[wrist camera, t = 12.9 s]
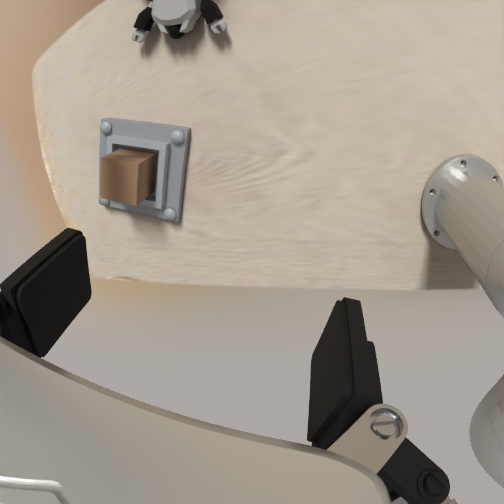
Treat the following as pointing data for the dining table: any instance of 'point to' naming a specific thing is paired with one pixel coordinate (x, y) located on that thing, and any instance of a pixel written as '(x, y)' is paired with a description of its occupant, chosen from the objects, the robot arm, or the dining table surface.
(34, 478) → the robot arm
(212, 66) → the dining table surface
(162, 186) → the base plate
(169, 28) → the robot toy
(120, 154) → the walnut cube
